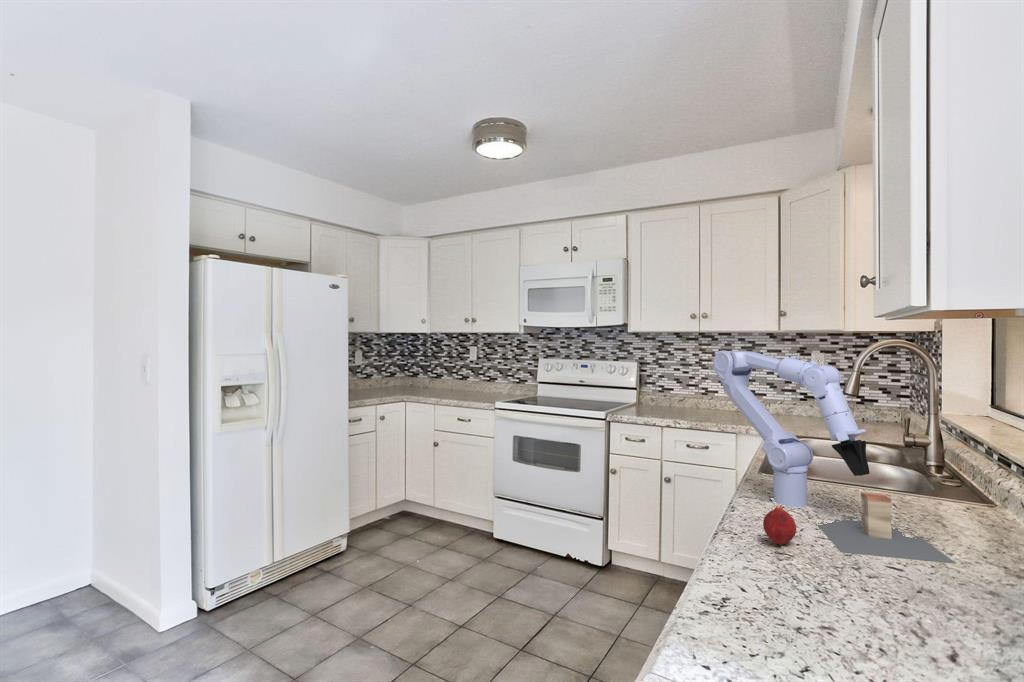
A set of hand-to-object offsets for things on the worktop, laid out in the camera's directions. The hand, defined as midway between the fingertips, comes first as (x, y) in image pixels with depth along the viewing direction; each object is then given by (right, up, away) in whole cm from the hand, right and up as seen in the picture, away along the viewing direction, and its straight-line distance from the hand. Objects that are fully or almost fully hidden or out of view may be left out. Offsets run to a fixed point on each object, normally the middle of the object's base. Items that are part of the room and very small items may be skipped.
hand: (862, 475), depth 113 cm
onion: (-24, -11, -11) cm, 29 cm away
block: (-2, -11, -6) cm, 13 cm away
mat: (-3, -11, -8) cm, 14 cm away
